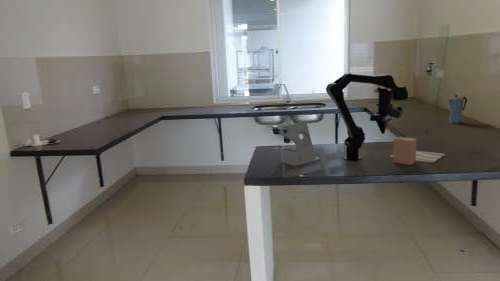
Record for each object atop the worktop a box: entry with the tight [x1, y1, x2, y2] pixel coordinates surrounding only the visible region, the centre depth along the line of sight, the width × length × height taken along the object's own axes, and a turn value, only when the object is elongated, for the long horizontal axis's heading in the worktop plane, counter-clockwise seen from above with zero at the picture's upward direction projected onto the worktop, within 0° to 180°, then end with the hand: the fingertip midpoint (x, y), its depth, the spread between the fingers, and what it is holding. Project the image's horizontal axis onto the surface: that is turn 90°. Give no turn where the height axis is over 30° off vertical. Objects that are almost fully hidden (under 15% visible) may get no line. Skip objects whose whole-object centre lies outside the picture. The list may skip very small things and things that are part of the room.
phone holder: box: [279, 122, 320, 167], centre depth 181 cm, size 17×10×18 cm, turn 124°
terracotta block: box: [392, 136, 418, 166], centre depth 171 cm, size 6×8×11 cm
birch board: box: [388, 150, 446, 164], centre depth 181 cm, size 18×20×1 cm
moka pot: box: [447, 94, 468, 124], centre depth 264 cm, size 10×15×20 cm, turn 107°
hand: (383, 133), depth 181 cm, fingers closed
